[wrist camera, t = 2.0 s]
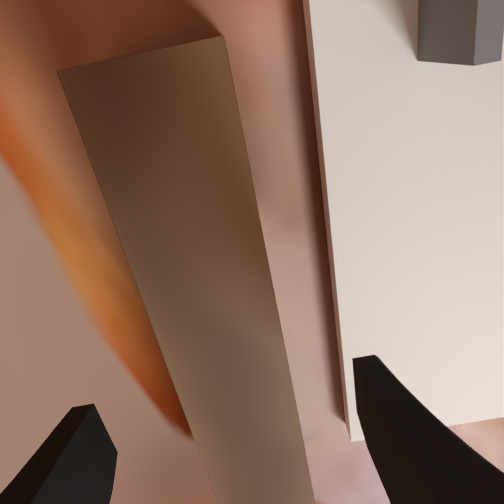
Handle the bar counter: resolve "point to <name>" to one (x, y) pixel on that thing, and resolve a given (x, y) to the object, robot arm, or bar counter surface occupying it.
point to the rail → (198, 256)
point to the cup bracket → (414, 194)
